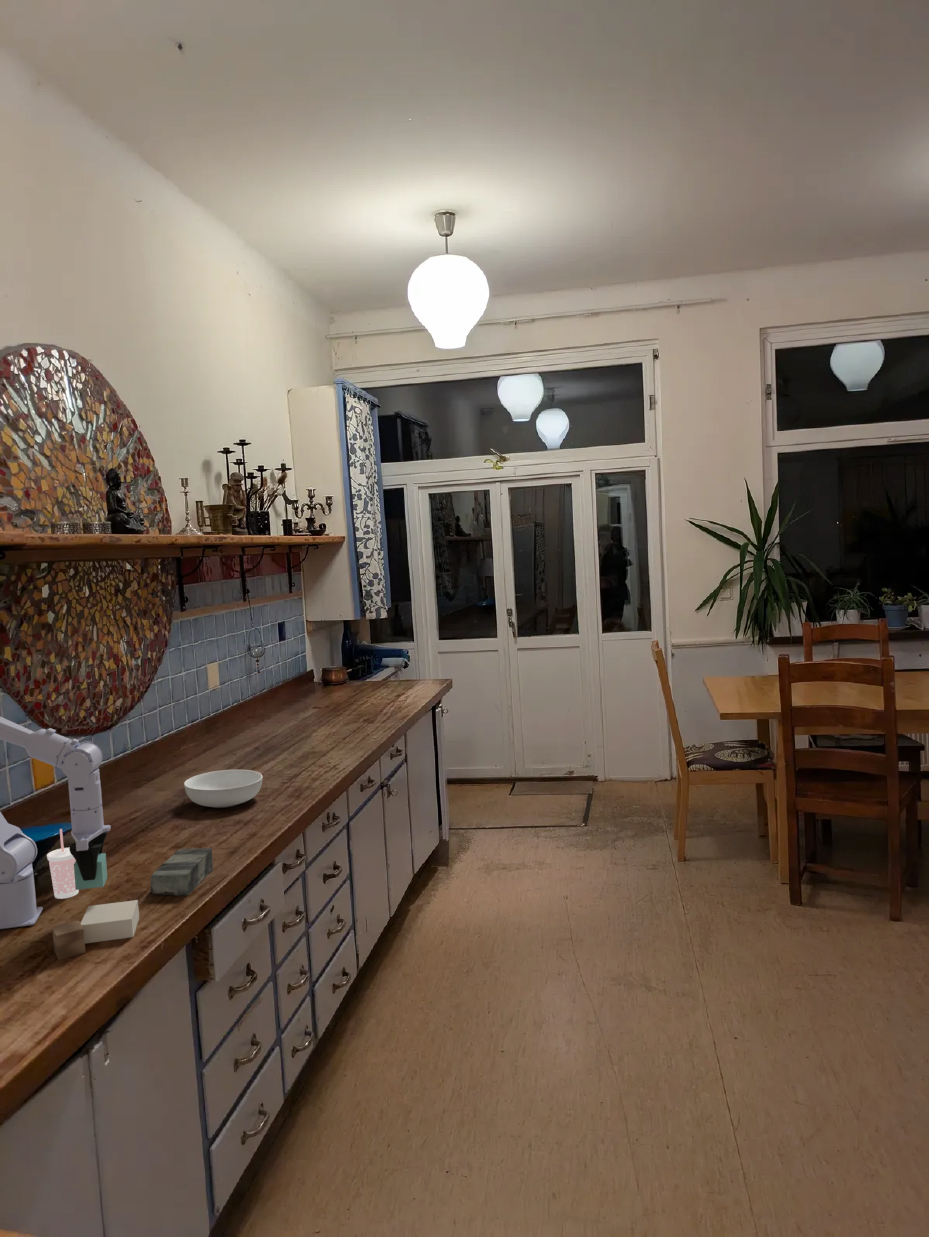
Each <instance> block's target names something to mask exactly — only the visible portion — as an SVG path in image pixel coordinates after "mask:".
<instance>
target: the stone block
mask: <svg viewBox="0 0 929 1237" xmlns="http://www.w3.org/2000/svg"><path fill="white" fill-rule="evenodd" d="M213 860H214V859H213V848H212V847H203V848H202V847H201V848H200V847H199V848H178V849H177V850H176V851H175V852H174V853H173V854H172V855H170V857H169V858H168V859H167V860H166V861H165V862H164V863H161V865H160V866H159V867H158V868H157V869H156V870H155V871H154V872H153V873H152V874H151V877H150V891H149V893H152V894H153V895H157V896H159V895H160V896H161V895H162V896H176V897H177V896H179V897H180V896H189V895H190V894H191V893H192V892H193V891H194V890H195V889H196V888H197V887H198V886H199V884H200V883H201V882H202V881H203V880H205V878H207V876H208V875H209V874H210V873H211V872H212V871H213V870H214V865H213V864H214V862H213Z"/></svg>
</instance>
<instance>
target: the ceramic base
mask: <svg viewBox="0 0 929 1237" xmlns="http://www.w3.org/2000/svg"><path fill="white" fill-rule="evenodd" d="M139 910H140V908H139V900H138V899H135V900H126V901H121V902H119V901H118V902H110V903H102V904H95V905H88V907H87V908H86V911H85V913H84V915H83V918H82V919H81V921H80V923H81V925H82V927H83V929H84V941H85V944H91V943H99V942H107V941H113V940H122V939H127V938H129V939H130V938H133V937H135V933H136V930H137V925H138V923H139V921H140V911H139Z"/></svg>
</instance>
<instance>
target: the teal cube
mask: <svg viewBox="0 0 929 1237" xmlns="http://www.w3.org/2000/svg"><path fill="white" fill-rule="evenodd" d="M107 867H108V866H107V854H106V853H105V852H102V853H101V854H98V859H97V871H96V877H95V879H94V880H87V881H84V880H83V878H82V876H81V873H80V870H79V867H78V864H77V862H75V863H74V875H75V888H76V890H79V891H80V890H86V889H95V888H96V889H97V888H104V886H105V884H106V882H107V879H108V870H107V869H108V868H107Z"/></svg>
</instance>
